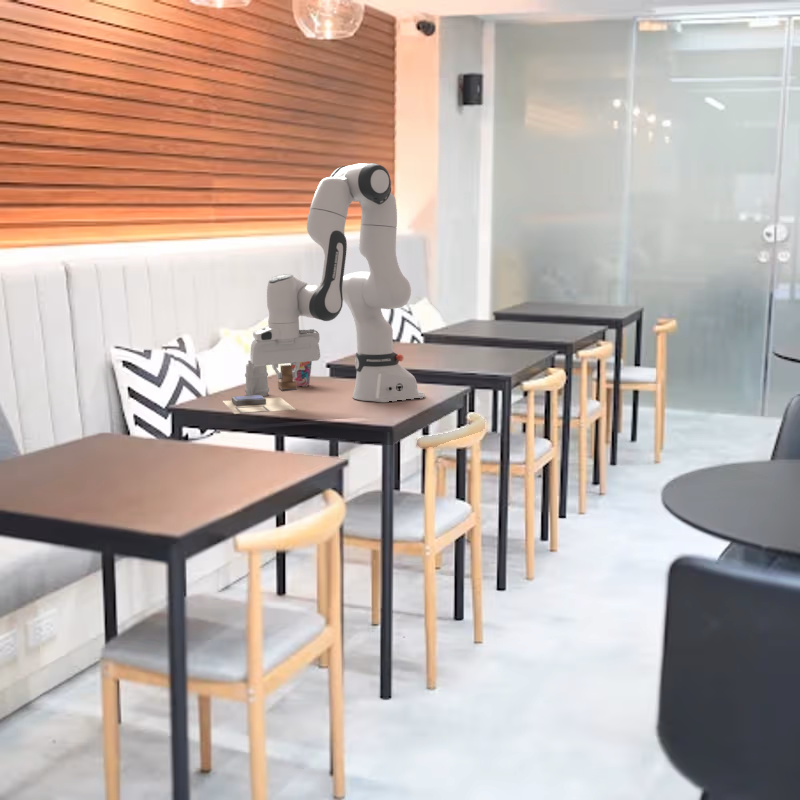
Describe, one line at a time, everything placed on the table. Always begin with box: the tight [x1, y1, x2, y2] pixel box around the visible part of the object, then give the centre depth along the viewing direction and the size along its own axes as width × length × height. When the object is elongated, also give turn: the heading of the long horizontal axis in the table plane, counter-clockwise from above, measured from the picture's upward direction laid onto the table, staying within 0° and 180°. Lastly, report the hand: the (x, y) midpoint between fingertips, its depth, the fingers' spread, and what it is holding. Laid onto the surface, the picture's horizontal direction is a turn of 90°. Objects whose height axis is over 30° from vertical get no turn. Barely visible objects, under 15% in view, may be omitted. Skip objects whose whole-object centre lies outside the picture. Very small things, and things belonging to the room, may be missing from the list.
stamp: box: [277, 364, 297, 392], centre depth 325 cm, size 4×4×7 cm
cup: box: [290, 361, 313, 387], centre depth 369 cm, size 9×8×12 cm
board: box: [222, 395, 297, 415], centre depth 330 cm, size 18×21×3 cm
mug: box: [244, 360, 270, 397], centre depth 349 cm, size 8×12×12 cm, turn 170°
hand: (286, 378), depth 325 cm, fingers closed on stamp, 3 cm apart
